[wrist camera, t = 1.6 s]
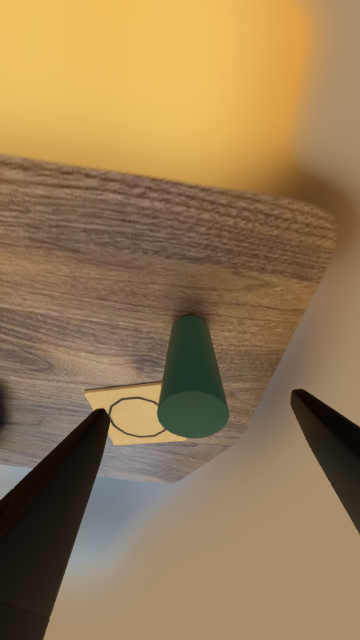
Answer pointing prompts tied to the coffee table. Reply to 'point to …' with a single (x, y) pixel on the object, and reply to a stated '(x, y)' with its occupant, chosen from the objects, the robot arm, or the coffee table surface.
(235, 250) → the coffee table surface
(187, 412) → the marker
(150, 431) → the sketch card
